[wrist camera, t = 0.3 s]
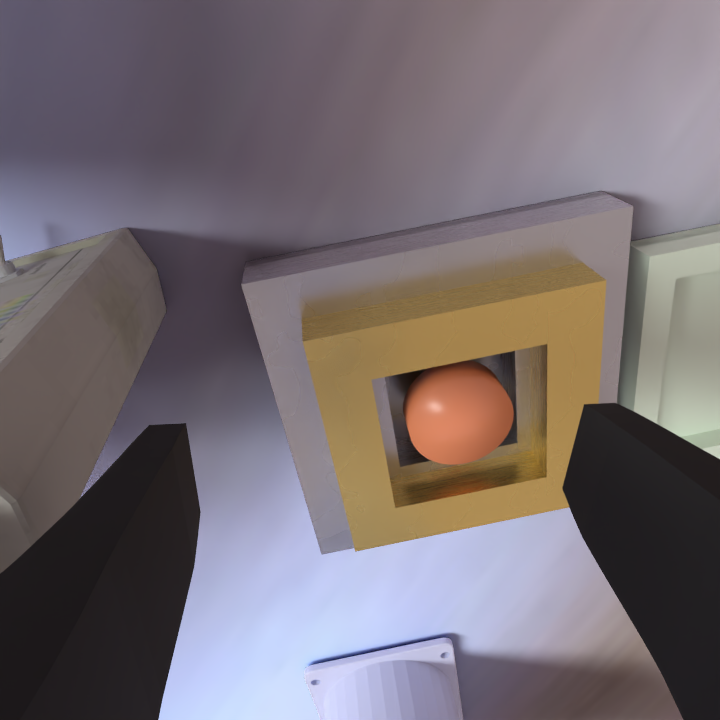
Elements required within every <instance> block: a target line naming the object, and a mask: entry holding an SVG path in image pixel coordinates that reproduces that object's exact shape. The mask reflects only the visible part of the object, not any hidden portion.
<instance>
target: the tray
mask: <svg viewBox="0 0 720 720" xmlns="http://www.w3.org/2000/svg"><path fill="white" fill-rule="evenodd" d="M617 404H619V405H621V406H624V407H626V408H628V409H630V410H632V411H634V412H636V413H638V414H640V415H641V416H643V417H645V418H647V419H649V420H651V421H653V422H654V423H656V424H658V425H660V426H662V427H663V428H665V429H667V430H669V431H671V432H672V433H674V434H676V435H678V436H679V437H681V438H683V439H685V440H687V441H688V442H690V443H692V444H694V445H695V446H697V447H699V448H701V449H702V450H704V451H706V452H708V453H710V454H711V455H713V456H715V457H717V458H719V459H720V224H715V225H710V226H705V227H700V228H695V229H690V230H685V231H681V232H676V233H671V234H666V235H661V236H656V237H651V238H646V239H641V240H636V241H631V242H630V253H629V264H628V276H627V288H626V300H625V312H624V323H623V335H622V347H621V359H620V370H619V382H618V394H617Z"/></svg>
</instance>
